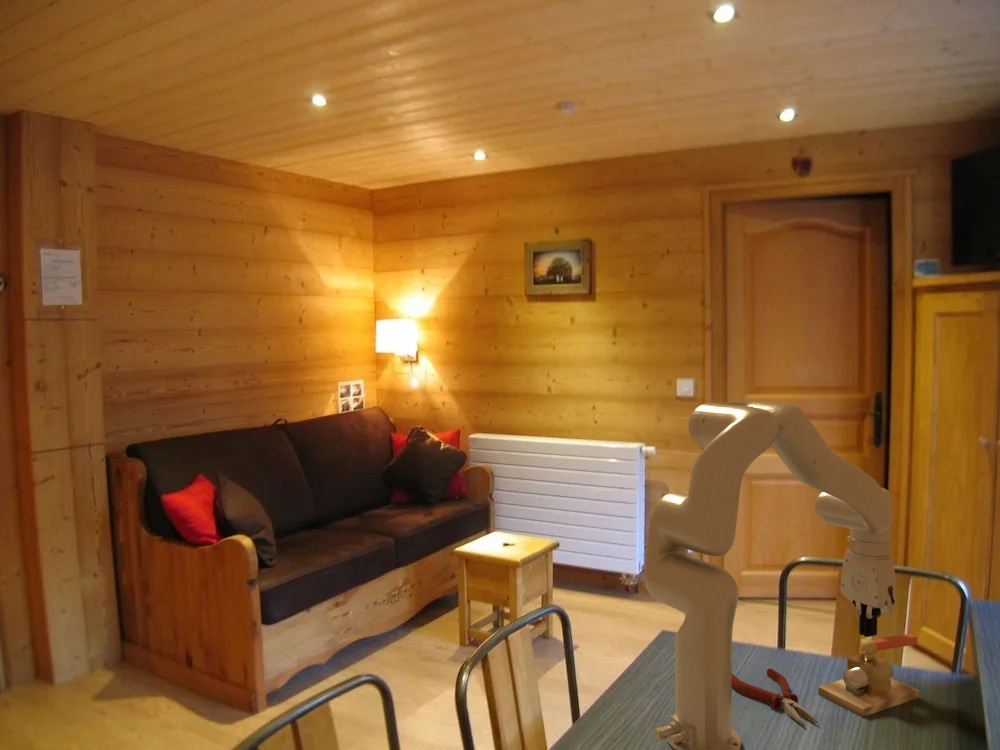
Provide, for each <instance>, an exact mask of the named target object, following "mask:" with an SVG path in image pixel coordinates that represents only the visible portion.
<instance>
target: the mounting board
mask: <svg viewBox="0 0 1000 750" xmlns="http://www.w3.org/2000/svg"><path fill="white" fill-rule="evenodd" d="M890 680H891V687H890V692H887V693H884V694H881V695H878V696H875V697H871V696H869V695H866V694H865V695H863V696H860V697H858V696H856V695H854V694H852V693H850V692H848V691H846V684H845V682H844V680H843V678H842V679H839V680H836V681H832V682H829V683H825V684H822V685H820V686H818V689H817V690H818V695H819V696H822V697H823V698H826V699H827V700H829V701H831V702H833V703H835V704H837V705H839V706H841V707H843V708H845V709H846V710H848V711H851V712H852V713H854V714H856V715H858V716H861V717H862V718H863V717H867V716H870V715H872V714H876V713H878V712H881V711H884V710H886V709H890V708H893V707H895V706H899V705H901V704H905V703H908V702H910V701H914V700H917V699H919V698H920V697H919V695H920V690H919V689H917V688H914V687H912V686H911V685H908V684H906V683H904V682H901V681H899V680H896V679H894V678H893V677H892V678H890Z"/></svg>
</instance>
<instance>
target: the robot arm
mask: <svg viewBox="0 0 1000 750" xmlns="http://www.w3.org/2000/svg"><path fill="white" fill-rule="evenodd" d="M687 426H688V433H689V435H690V437H691V439H692V440H693V441H694V443H696V444H697V445H698V446H700V447H702V448H703V450H702V451H701V452H700V453H699V455H698V456H697V457H696V460H694V461H695V462H694V463H693V466H692V470H691V474H690V481H689V485H688V486H689V487H688V493H684V492H674V491H673V492H670V493H667V494H665V495H663V496H662V497H661V498H660V499H658V501H657V502H656V504H655V505H654V507H653V509H652V510H651V513H650V518H649V523H648V530H647V541H646V550H645V559H644V561H645V562H644V570H643V571H644V572H643V573H644V574H643V575H644V584H645V588H646V590H647V592H648V593H649V595H650V596H651V597H652V598H654V600H656V601H658V602H660V603H662V604H664V605H666V606H668V607H671V608H673V609H675V610H677V611H680V612H681V613H683V614H684V621H683V622H682V624H681V625H680V627H679V629H678V630H677V633H676V636H675V643H674V644H675V645H674V649H675V651H674V652H675V657H674V658H675V659H674V661H675V668H674V669H675V670H674V671H675V675H674V676H675V677H674V678H675V680H674V683H675V684H674V686H675V689H674V690H675V691H674V694H675V695H674V696H675V699H674V700H675V713H674V714H671V715H670V722H668V723H667V724H666V725H665V726H660V727H657V728H654V729H653V730H652V736H653V738H654V740H655V741H657V742H659V741H662V740H667V742H668V744H669V745H670V747H672V748H673V749H674V750H741V748H742V747H741V746H742V738H741V736H740V734H739V733H738V732H737V731H736V730H735V729H734V728H733V727H732V721H733V719H732V715H733V714H732V712H733V711H732V710H733V709H732V706H733V705H732V701H733V700H732V699H733V697H732V694H733V693H732V691H733V688H732V674H733V673H732V672H733V669H732V668H733V664H732V663H733V657H732V656H733V651H732V650H733V649H732V648H733V629H734V621H735V616H736V611H737V607H738V601H739V588H738V584H737V582H736V580H735V579H734V577H733V576H732V575H731V573H729V572H728V571H727V570H725V568H724V569H723V568H722V567H720V566H718V565H715V564H713V563H711V562H707V561H704V560H702V559H699V558H695V557H692V556H689V555H688V553H689V551H691V552H694V553H698V554H699V555H705V556H710V557H723V556H725V555H727V554H728V553H729V552H730V551H731V549H733V548H732V547H733V545H734V541H735V537H736V531H737V520H738V512H739V502H740V495H741V494H740V493H741V486H742V482H743V478H744V475H745V473H746V472H747V470H748V469H749V467H750V466H751V465H752V463H753V462H754V461H755V460H756V459H757V458H758V457H760V456H761V455H762V454H764V453H765V452H766V451H768V449H769V448H771V449H772V450H773V451H774V453H776V455H777V456H778V457H779V459H780V460H781V461H782V463H784V465H785V466H786V467H787V469H788V470H789V471H790V473H791V474H792V475H793V477H794V478H795V479H796V480H797V481H799V482H800V483H803V484H805V485H807V487H810V488H812V489H814V490H817V491H819V492H820V493H819V494H818V496H817V497H816V499H815V501H814V511H815V513H816V516H817V517H818V518H819V519H820V520H821V521H822V522H824V523H827V524H829V525H832V526H836V527H840V528H843V529H849V535H847V538H846V540H847V542H848V543H849V548H847V549H846V550H845V553H844V557H843V561H842V568H841V577H840V592H841V594H842V595H843V596H845V598H846V599H847V600H848V601H850V602H851V603H852V604H853V605H854V607H855V610H856V614H857V615H859V622H858V623H859V624H858V625H859V626H858V627H859V628H858V629H859V630H858V631H859V632H858V633H859V635H860V636H863V637H864V638H870V637H874V636H877V634H878V618H880V617H881V616H882V615H887V616H888V615H893V614H894V608H893V606H894V605H895V603H896V597H897V584H896V583H897V582H896V581H897V580H896V571H895V565H894V559H893V557H892V556H891V538H892V537H891V531H892V530H891V529H892V527H891V526H892V524H893V520H894V509H893V507H892V495H891V492H890V490H888V489H886V488H884V487H881V486H880V484H879V483H878V482H877V481H876V480H875V479H874V478H873V477H871V476H870V474H868V473H867V472H865V471H863V470H862V469H861V468H859V467H858V466H856V465H854V464H853V463H852V462H850V461H849V460H847V459H846V458H844V457H843V456H841V455H839V454H837V453H835V451H833V450H832V448H831V447H830V446H829V444H828V443H827V442H826V440H825V439H824V438H823V436H822V435H821V434H820V432H819V431H818V429H817V428H816V426H815V425H814V424H813V423H812V421H811V419H810V418H809V416H807V414H806V413H805V412H804V411H803V410H802V409H801V408H799V406H797V405H794V404H792V403H786V402H773V401H761V400H745V401H744V400H743V401H726V402H722V401H721V402H706V403H702V404H701V405H698V406H697V407H696V408H695V409H694V410H693V411H692V413H691V414H690V417H689V419H688V424H687Z"/></svg>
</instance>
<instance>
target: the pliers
mask: <svg viewBox="0 0 1000 750" xmlns="http://www.w3.org/2000/svg"><path fill="white" fill-rule="evenodd" d="M766 676H767V677H768V678H770V680H772V681H773V682H775V683H776V684H778V686H779V687H780V691H781V694H780V693H779V694H778V693H774V692H771V691H770V690H766V689H763V688H761V687H757V686H755V685H753V684H750V683H747V682H745V681H742V680H741V679H739V678H738V677H737V676H736V675H735V674H734V673H732V690H734V691H736V693H739V694H742V695H743V696H746V697H749V698H752V699H754V700H757V701H760V702H762V703H765V704H766V705H767V704H768V705H769V706H770V709H771V710H775V709H777V708H778V709H781V710H782V711H783V712H784V713H785V714H786V715H787V716H789V717H790V718H792V719H793V720H794V721H796V722H797V723H799V724H800V725H802V726H803V727H804V726H805V723H804V721H803V720H802V719H805V720H807V721H811V722H813V723H815V724H818V723H819V721H818V720H817V719H816V718H815V717H814V716H813V715H811V714H810V713H809V712H808V711H807V710H806V709H805V708H804V707H803V706H802V705H800V704H799V698H798V695H797V694H796V693H792V692H790V687H789V683H788V681H787V679H786V678H785V676H784V675H782V674H781V673H779V671H777V670H775V669H773V668H767V670H766Z"/></svg>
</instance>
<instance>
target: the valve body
mask: <svg viewBox="0 0 1000 750" xmlns="http://www.w3.org/2000/svg"><path fill="white" fill-rule="evenodd" d="M894 672H895V670H894V668H893V666H892V664H891V663H890V662H889V661H887V660H885V659H881V658H879V657H876V656H874V653H873V654H871V653H866V652H862V653H859V654H854V655H852V656H849V657H847V668H846V670H844V671H843V673H842V679H843V680H844V682H845V684H846V691H848V692H850V693H852V694H854V695H856V696H858V697H860V696H863V695H865V694H866V695H869V696H871V697H875V696H878V695H881V694H884V693H887V692H890V687H891V680H890V678H892V679H893V677H894Z"/></svg>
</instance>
